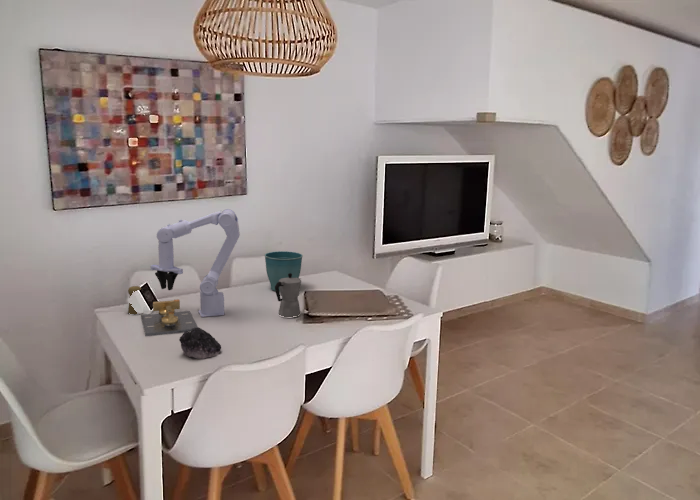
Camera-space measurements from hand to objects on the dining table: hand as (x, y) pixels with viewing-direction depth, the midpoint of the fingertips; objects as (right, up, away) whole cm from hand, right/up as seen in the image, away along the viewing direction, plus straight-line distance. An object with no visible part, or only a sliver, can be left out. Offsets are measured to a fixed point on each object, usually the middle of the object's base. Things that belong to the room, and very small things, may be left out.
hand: (167, 289), depth 232 cm
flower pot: (+42, -3, +44) cm, 61 cm away
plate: (+4, -13, -10) cm, 17 cm away
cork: (-13, -10, +2) cm, 17 cm away
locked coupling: (+1, -9, -4) cm, 10 cm away
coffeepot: (+48, -12, +5) cm, 50 cm away
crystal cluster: (+23, -20, -36) cm, 47 cm away
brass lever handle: (+6, -12, -14) cm, 19 cm away
